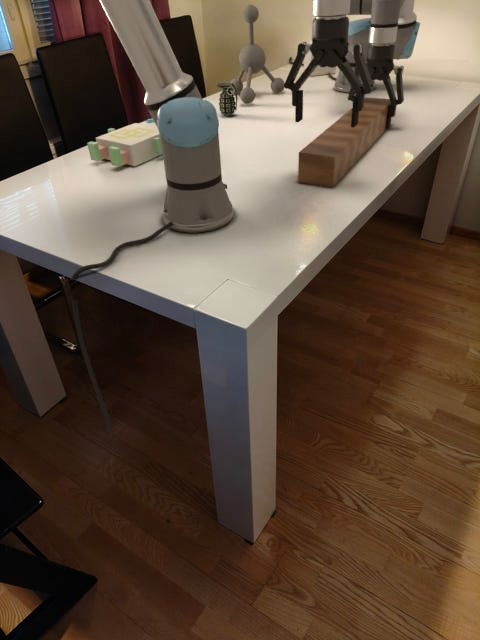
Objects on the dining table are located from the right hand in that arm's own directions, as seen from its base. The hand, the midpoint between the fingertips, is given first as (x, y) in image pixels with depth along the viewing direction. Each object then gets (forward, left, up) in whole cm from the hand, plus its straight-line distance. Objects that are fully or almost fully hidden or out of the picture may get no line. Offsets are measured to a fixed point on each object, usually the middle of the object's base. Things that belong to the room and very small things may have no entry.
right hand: (372, 126), depth 151 cm
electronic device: (-79, -12, 0) cm, 80 cm away
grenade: (-18, -47, 0) cm, 50 cm away
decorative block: (+19, -70, 0) cm, 72 cm away
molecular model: (-42, -37, 0) cm, 56 cm away
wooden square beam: (+20, -9, 0) cm, 22 cm away
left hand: (+40, -18, +13) cm, 45 cm away
